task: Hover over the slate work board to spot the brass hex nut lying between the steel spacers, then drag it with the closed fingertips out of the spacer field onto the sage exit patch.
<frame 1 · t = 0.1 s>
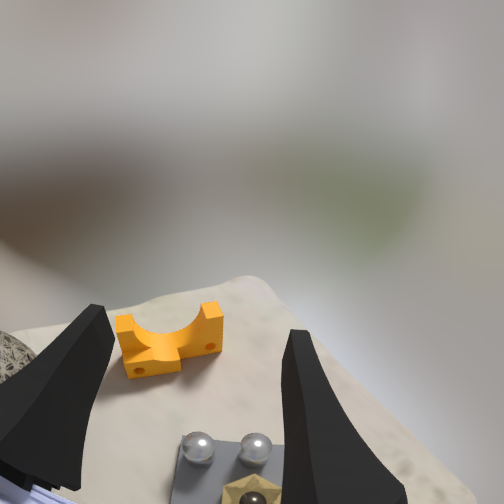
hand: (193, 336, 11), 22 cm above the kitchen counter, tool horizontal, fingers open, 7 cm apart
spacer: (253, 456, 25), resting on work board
pipe clamp: (174, 359, 36), on the kitchen counter
decorative egg: (38, 434, 23), on the kitchen counter
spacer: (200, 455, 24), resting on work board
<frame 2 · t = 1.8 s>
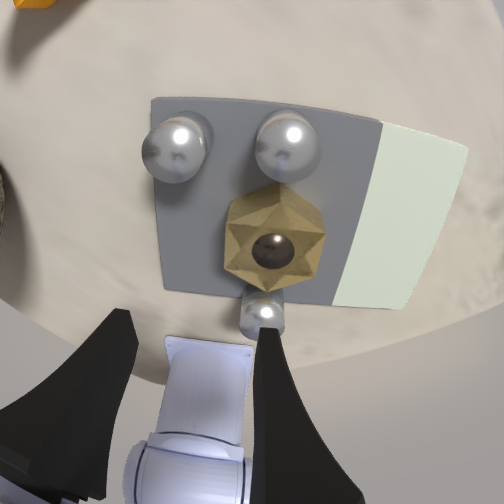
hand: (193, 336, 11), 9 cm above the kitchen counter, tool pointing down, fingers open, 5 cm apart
brass nut: (273, 226, 18), point 1 cm above the kitchen counter, touching work board
work board: (306, 214, 19), on the kitchen counter
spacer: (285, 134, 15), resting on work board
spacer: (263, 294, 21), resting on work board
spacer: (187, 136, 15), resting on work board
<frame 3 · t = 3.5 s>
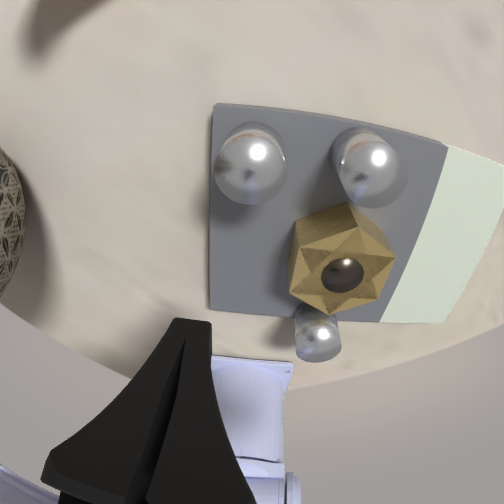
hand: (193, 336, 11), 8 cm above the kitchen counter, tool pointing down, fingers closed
brass nut: (334, 247, 17), point 1 cm above the kitchen counter, touching work board
work board: (365, 233, 18), on the kitchen counter
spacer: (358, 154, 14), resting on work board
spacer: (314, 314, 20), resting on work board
decorative egg: (3, 179, 16), on the kitchen counter
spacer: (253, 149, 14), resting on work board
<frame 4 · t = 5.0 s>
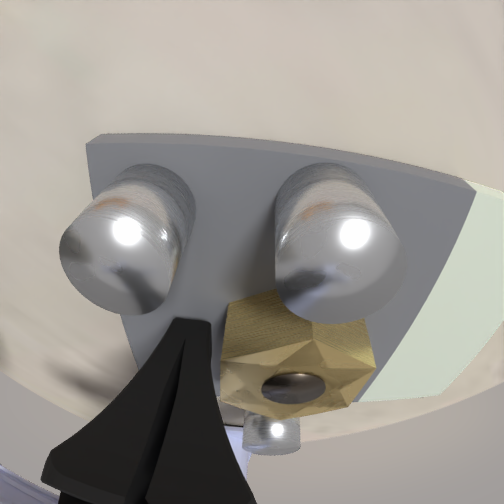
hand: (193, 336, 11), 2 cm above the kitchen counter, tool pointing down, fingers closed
brass nut: (291, 334, 12), point 1 cm above the kitchen counter, touching gripper, work board
work board: (340, 310, 12), on the kitchen counter
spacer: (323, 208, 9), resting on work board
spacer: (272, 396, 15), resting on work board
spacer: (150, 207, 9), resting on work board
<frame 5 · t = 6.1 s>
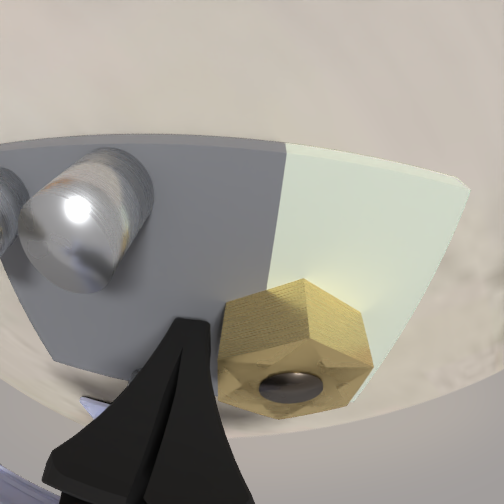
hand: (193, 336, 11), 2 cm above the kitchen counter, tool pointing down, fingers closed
brass nut: (289, 333, 12), point 1 cm above the kitchen counter, touching gripper, work board
work board: (187, 296, 12), on the kitchen counter
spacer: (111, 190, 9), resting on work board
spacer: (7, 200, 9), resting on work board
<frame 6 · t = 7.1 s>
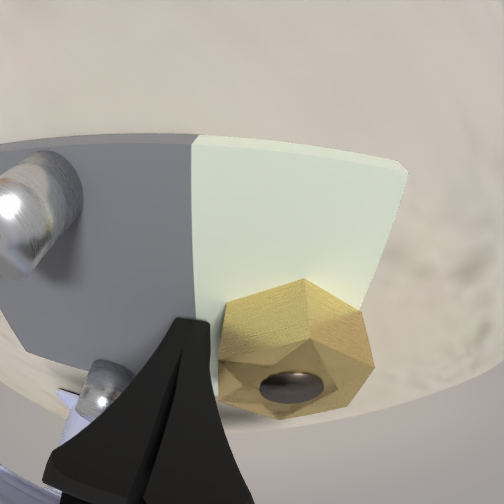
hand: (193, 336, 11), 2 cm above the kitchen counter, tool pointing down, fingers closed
brass nut: (290, 333, 12), point 1 cm above the kitchen counter, touching gripper, work board
work board: (131, 288, 12), on the kitchen counter
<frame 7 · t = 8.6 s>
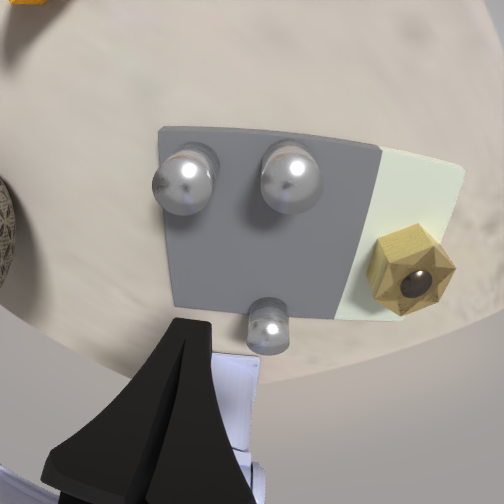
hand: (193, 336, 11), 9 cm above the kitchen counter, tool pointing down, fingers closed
brass nut: (404, 259, 19), point 1 cm above the kitchen counter, touching work board
work board: (309, 236, 20), on the kitchen counter
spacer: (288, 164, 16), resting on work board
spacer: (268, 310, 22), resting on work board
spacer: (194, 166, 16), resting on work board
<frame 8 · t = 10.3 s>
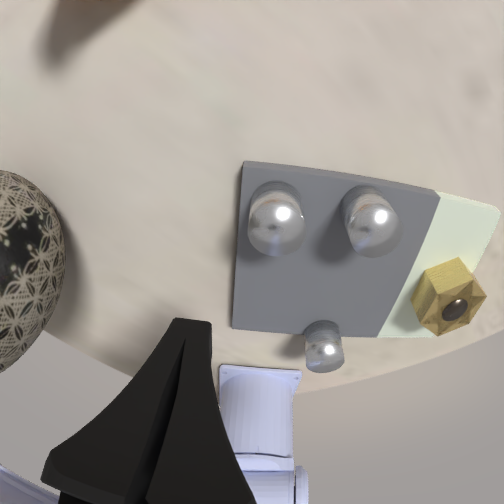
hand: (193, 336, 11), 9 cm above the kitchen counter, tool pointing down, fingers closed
brass nut: (442, 286, 20), point 1 cm above the kitchen counter, touching work board
work board: (366, 266, 21), on the kitchen counter
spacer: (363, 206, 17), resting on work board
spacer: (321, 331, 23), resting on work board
decorative egg: (36, 211, 20), on the kitchen counter
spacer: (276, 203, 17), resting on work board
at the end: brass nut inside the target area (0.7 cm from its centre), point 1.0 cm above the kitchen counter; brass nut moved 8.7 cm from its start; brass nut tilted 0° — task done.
